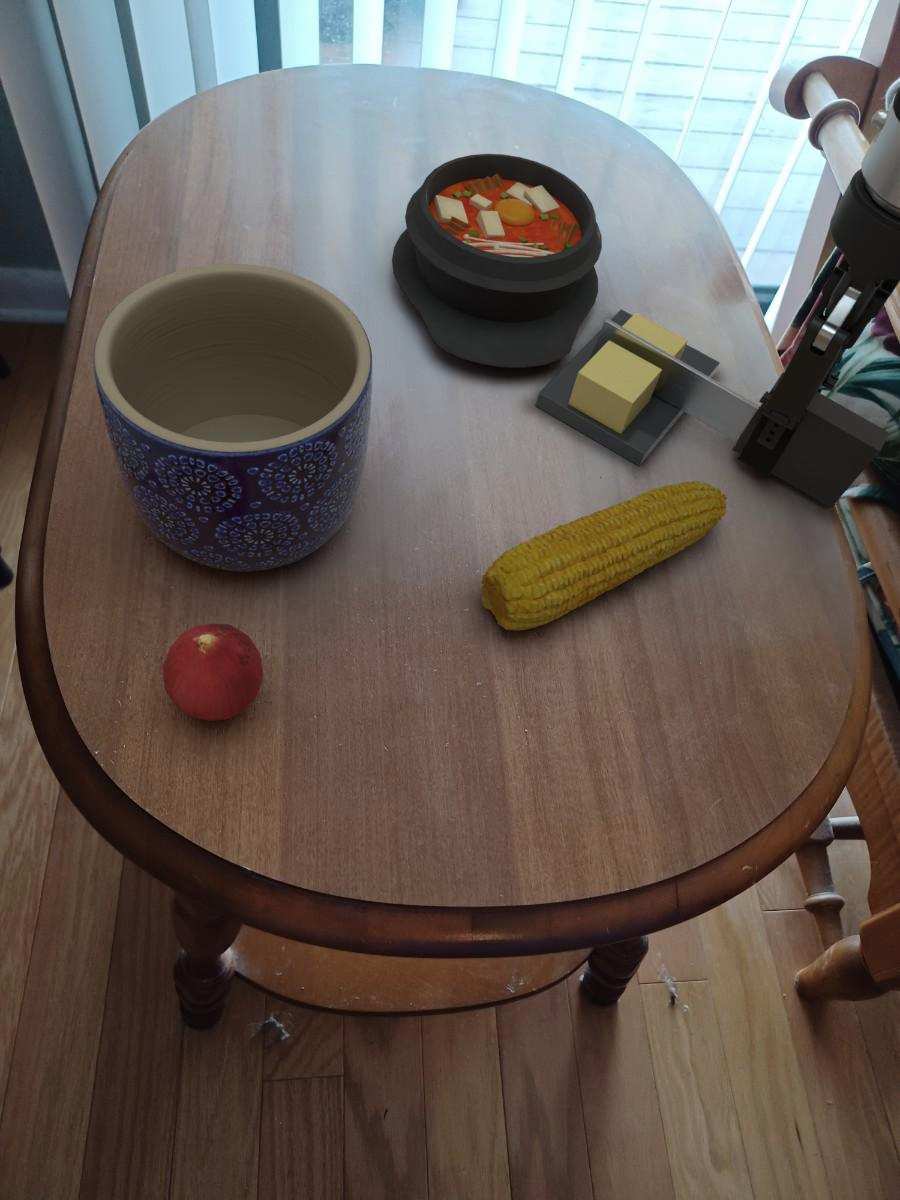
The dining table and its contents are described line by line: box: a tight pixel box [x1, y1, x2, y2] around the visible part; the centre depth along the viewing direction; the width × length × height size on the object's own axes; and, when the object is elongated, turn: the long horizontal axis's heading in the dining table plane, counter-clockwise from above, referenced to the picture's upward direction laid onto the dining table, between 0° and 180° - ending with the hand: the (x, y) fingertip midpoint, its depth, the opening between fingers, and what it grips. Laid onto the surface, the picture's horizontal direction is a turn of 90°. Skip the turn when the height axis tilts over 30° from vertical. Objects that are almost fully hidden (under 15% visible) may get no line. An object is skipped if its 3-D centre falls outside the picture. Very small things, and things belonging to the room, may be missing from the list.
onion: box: [162, 623, 264, 722], centre depth 57 cm, size 6×6×8 cm
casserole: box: [391, 153, 603, 369], centre depth 83 cm, size 25×19×8 cm
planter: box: [92, 263, 373, 573], centre depth 63 cm, size 17×17×15 cm
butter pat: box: [622, 312, 689, 360], centre depth 79 cm, size 5×3×4 cm, turn 55°
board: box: [535, 309, 721, 467], centre depth 80 cm, size 10×14×2 cm
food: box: [480, 480, 728, 631], centre depth 68 cm, size 21×6×6 cm, turn 124°
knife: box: [591, 317, 890, 509], centre depth 75 cm, size 23×2×7 cm, turn 57°
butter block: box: [568, 341, 662, 434], centre depth 76 cm, size 5×5×4 cm
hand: (762, 453), depth 77 cm, fingers closed on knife, 2 cm apart
